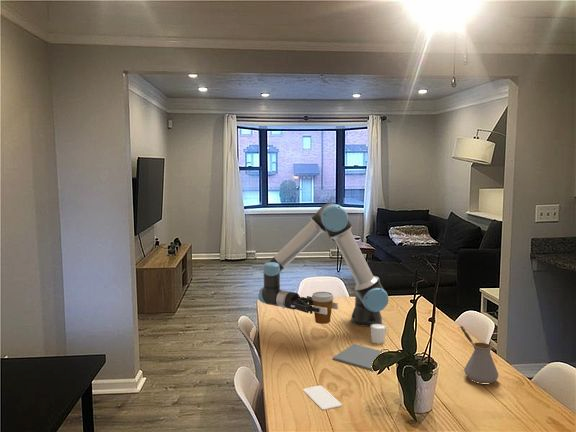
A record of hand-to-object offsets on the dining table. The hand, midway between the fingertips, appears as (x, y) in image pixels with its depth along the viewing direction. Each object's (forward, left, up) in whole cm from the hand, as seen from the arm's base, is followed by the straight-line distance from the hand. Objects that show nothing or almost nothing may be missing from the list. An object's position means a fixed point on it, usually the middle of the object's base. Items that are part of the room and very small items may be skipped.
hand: (332, 308), depth 192 cm
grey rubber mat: (+1, +15, -17) cm, 23 cm away
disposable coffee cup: (0, -5, -7) cm, 8 cm away
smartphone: (+39, +19, -18) cm, 47 cm away
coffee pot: (-11, +55, -17) cm, 59 cm away
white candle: (-19, +12, -17) cm, 29 cm away
